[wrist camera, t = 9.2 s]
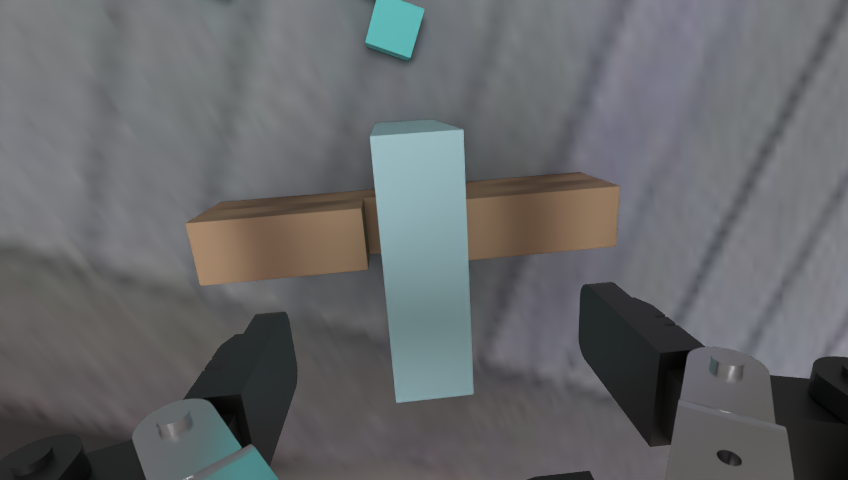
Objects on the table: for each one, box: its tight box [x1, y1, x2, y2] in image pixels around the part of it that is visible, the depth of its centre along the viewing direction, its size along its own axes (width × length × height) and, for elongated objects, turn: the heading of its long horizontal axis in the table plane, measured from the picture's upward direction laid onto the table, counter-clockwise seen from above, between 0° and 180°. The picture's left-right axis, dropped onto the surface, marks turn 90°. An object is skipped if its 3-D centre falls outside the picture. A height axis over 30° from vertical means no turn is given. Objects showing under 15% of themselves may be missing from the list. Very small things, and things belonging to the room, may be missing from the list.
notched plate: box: [370, 119, 474, 403], centre depth 20 cm, size 3×10×10 cm, turn 4°
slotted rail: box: [186, 172, 620, 286], centre depth 23 cm, size 20×3×4 cm, turn 94°
